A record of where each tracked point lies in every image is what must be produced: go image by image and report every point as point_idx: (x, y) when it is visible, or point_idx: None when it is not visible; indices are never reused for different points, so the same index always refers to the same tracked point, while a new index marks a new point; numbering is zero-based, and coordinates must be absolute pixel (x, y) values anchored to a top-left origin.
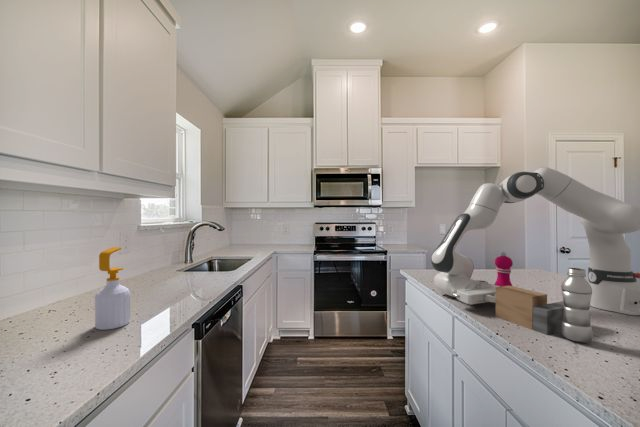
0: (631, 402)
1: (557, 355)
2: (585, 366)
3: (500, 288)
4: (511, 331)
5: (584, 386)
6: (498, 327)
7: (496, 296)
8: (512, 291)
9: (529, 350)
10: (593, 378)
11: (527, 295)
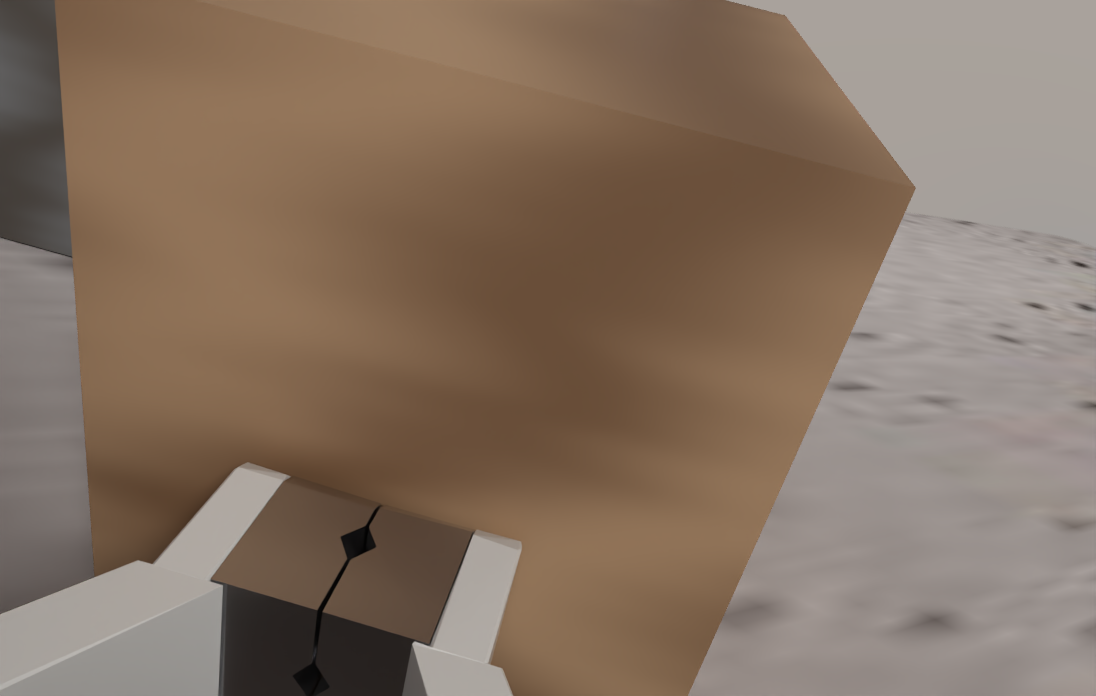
0: (994, 227)
1: (937, 318)
2: (902, 263)
3: (857, 132)
4: (934, 531)
5: (1076, 281)
6: (1015, 655)
7: (780, 473)
8: (801, 61)
9: (1078, 402)
10: (975, 260)
11: (781, 22)
